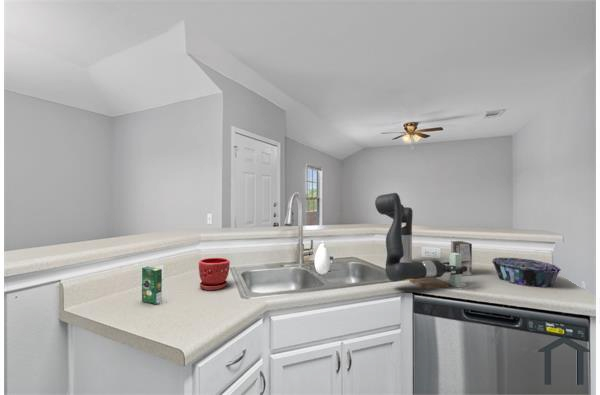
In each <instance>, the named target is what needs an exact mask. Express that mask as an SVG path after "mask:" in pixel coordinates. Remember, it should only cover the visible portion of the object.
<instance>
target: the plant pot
mask: <svg viewBox="0 0 600 395" xmlns="http://www.w3.org/2000/svg"><path fill="white" fill-rule="evenodd" d="M230 262H231V261H230V259H228V258H223V257H207V258H203V259H200V260H199V261H198V273H199V278H200V281H201V282H199V287H201V289H204V290H205V291H206V290H208V291H213V290H214V291H215V290H220V289H223V288H224V287H225V286H227V284H228V282H227V278H228V276H229V274H230V265H231V264H230Z"/></svg>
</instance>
